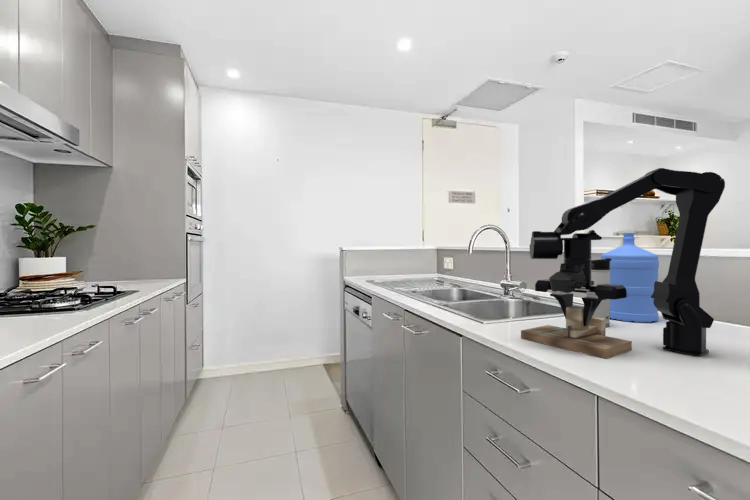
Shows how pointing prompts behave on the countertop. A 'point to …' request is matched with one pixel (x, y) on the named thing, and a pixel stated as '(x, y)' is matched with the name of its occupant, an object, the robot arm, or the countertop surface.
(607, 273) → the travel mug
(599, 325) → the beech gauge
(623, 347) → the walnut board
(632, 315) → the water jug
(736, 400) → the countertop surface
